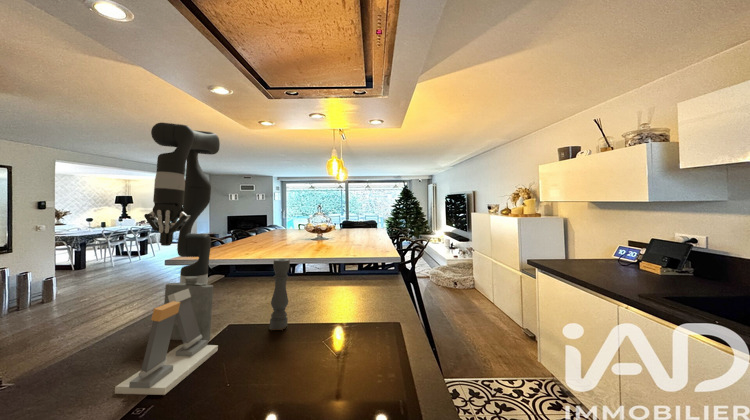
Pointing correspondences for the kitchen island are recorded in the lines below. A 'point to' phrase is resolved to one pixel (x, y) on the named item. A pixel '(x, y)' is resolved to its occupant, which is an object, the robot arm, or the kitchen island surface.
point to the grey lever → (186, 318)
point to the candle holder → (279, 294)
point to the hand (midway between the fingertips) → (165, 245)
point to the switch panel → (169, 370)
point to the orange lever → (159, 337)
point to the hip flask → (194, 305)
